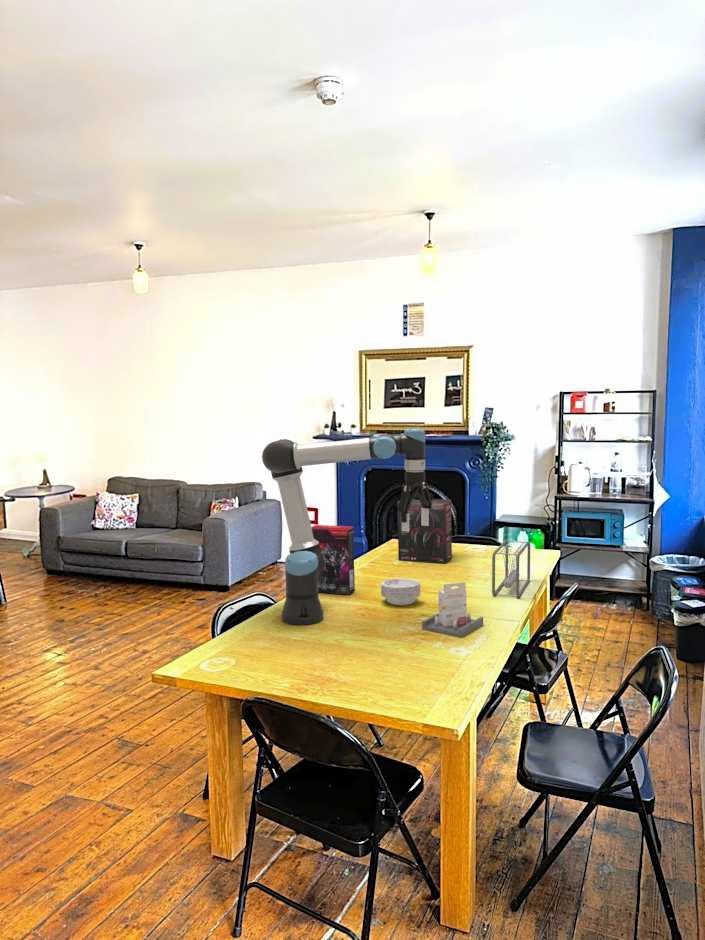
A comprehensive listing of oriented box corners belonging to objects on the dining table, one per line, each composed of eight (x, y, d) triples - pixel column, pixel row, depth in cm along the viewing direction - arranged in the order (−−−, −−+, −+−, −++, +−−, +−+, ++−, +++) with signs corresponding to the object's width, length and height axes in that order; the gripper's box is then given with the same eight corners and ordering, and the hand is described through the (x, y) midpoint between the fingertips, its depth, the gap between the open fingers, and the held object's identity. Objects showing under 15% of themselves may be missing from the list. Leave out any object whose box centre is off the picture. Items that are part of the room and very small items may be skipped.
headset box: (396, 560, 340) (396, 493, 336) (404, 555, 351) (404, 490, 348) (446, 564, 330) (445, 495, 327) (452, 558, 342) (452, 492, 339)
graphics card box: (310, 592, 284) (309, 527, 282) (317, 588, 291) (315, 524, 288) (350, 595, 279) (348, 529, 276) (355, 591, 285) (354, 526, 283)
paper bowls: (392, 595, 279) (392, 575, 278) (426, 600, 271) (426, 580, 270) (374, 604, 266) (373, 584, 265) (409, 610, 258) (409, 589, 257)
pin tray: (461, 637, 227) (461, 625, 227) (422, 629, 236) (421, 617, 236) (483, 624, 240) (483, 612, 240) (445, 617, 249) (445, 605, 249)
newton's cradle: (518, 599, 270) (519, 554, 268) (491, 597, 274) (492, 552, 272) (530, 581, 298) (530, 540, 296) (505, 579, 302) (505, 538, 300)
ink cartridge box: (461, 620, 241) (461, 578, 240) (467, 624, 237) (467, 582, 235) (438, 622, 239) (437, 580, 238) (443, 627, 234) (443, 584, 233)
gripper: (405, 474, 242) (405, 534, 244) (441, 468, 261) (441, 524, 263) (387, 473, 246) (388, 532, 248) (423, 467, 266) (424, 522, 268)
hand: (415, 528), depth 256 cm, fingers open, 13 cm apart
